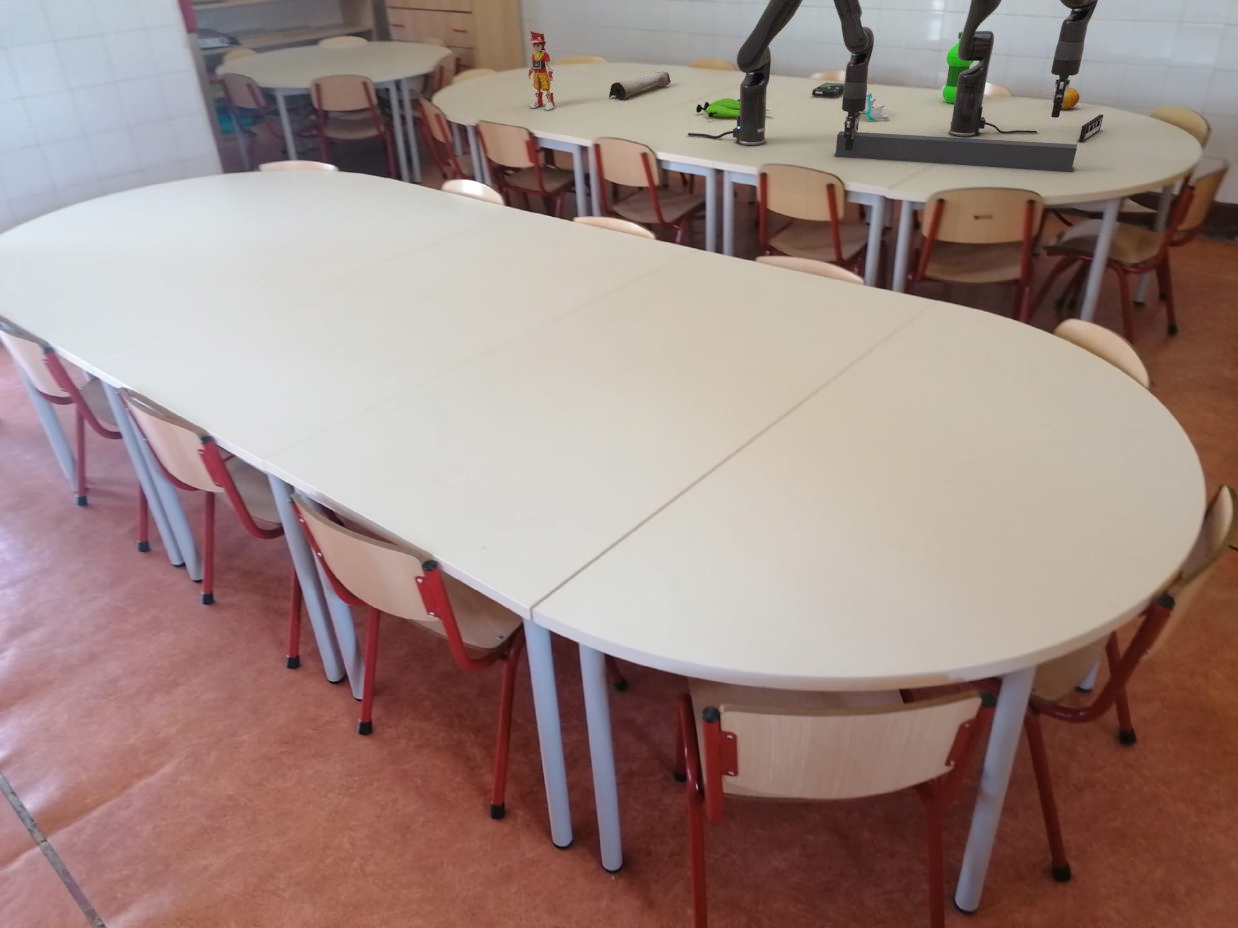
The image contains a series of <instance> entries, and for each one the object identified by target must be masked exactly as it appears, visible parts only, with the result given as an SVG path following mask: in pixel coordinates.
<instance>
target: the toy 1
mask: <svg viewBox="0 0 1238 928" xmlns="http://www.w3.org/2000/svg"><path fill="white" fill-rule="evenodd" d="M529 33H530V35H531V36H528V37H527V38H528V39H529V40H528V41H527V43H529V44H530V43H531V44H532V48H533V50H534V51H533V52H532V55H531V58H530V59H531V63H530V66H528V74H527V75H528V76H527V77H528V79H529V80H531V75H532V74H533V84H532V85H533V86H532V87H533V88H534V89H535V90H536V92H534V95H535V97H536V100H535V101H533V102H531V105H530V108H531V109H535V108H538V107H542V106H544V101H543V100H544V99H543V95H544V92H546V94H545V97H546V99H547V103H546V104H545V106H544V110H546V111H549V110H553V109H554V107H555V106H556V105H555V99H554V92H551V91H550V90H551V86H552V84H551V82H552V81H553V80H554V77H553V73H554V71H555V70H554V69H552V68H551V63H550V61H551V59H550V58H551V57H550V54H549V53H548V52H547V50H546V48H545V46H546V44H547V41H545V35H544V33H543V32H542V33H539V32H535V31H529Z"/></svg>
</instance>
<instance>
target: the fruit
mask: <svg viewBox="0 0 1238 928" xmlns="http://www.w3.org/2000/svg"><path fill="white" fill-rule="evenodd" d="M1054 98H1055V97H1054V96H1053V99H1054ZM1079 101H1080V93H1079V91H1078V90H1077V89H1076V88H1073V87H1069V88H1068V89H1067V93H1066V97H1064V98H1063V103H1062V107H1061V110H1069V109H1072V108H1074V107H1075V106H1077V105H1078V103H1079Z"/></svg>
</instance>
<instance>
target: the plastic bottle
mask: <svg viewBox="0 0 1238 928" xmlns="http://www.w3.org/2000/svg"><path fill="white" fill-rule="evenodd" d="M962 32H963V31H959V32H958V36H957V39H958V42H957V43H956V44H954V45H953V46H952V47H951V48H950V49H949V50H948V52H947V54H946V63H947V64H948V69H947V70H948V71H947V76H946V77H947V78H946V84H945V85H944V87H943V90H942V97H943V99H944V100H945V101H946V102H947V103H948V104H954V103H955V96H956V90H957V83H958V77H959V74H960V73H961V72H963V71H965V70H968V69H970V68H971V65H972V64H973V63H974V61H962V60H960V59H959V58H958V46H959V42H960V38H961V35H962Z"/></svg>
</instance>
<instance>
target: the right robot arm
mask: <svg viewBox="0 0 1238 928" xmlns="http://www.w3.org/2000/svg"><path fill="white" fill-rule="evenodd" d="M1002 1H1003V0H970V3H969V9H968V13H967V16H966V20H965V24H964V26H963V30H962V31H961V32H962V35H961V38H960V42H959V41H958V43H959V46H958V58H959V59H960V60H962V61H973V62H977V63H976V64H975V65H974V66H972V67H970V68H969V69H968V70H965V71H963V72H961V73H960V74H959V77H958V83H957V90H956V96H955V103H953V110H952V115H951V121H950V129H949V134H950V135H952V136H954V137H955V136H956V137H973V136H979V131H980V130H981V129H982V130H983V129H985V126H988V127H992V128H994V129H995V130H996V131H997V132H998V133H1000V134H1015V133H1022V134H1023V133H1025V134H1028V133H1029V134H1032V133H1033V134H1037V133H1038V130H1009V131H1007V130H1005V131H1004V130H1001V129H1000V128H999V127H998V126H997V125H995V124H993V123H989V122H986V118H985V116H982V115H983V109H984V107H983V102H984V96H985V90H986V83H987V79H988V73H989V67H990V63H991V58H992V54H993V49H994V44H995V35H994V32H993V31H992V30H977V29H978V28H979V27H980V25H981V24H982V23H983V22H984V21H985V20H987V19H988V18H989V17H990V16H991V15H992V14H993V13H994V12H995V11H996V10H997V9H998V7H999V6H1000V4H1001V3H1002ZM1059 1H1060V3H1061V4H1062V5H1063V6H1065V7H1066V8H1067V9H1070V13H1069V15H1068V16H1067V17H1066V18H1065V19H1063V21H1062V23H1061V26H1060V32H1059V36H1058V40H1057V44H1056V46H1055V50H1054V57H1053V61H1052V65H1051V70H1050V73H1051V74H1052V75H1054V76H1059V77H1058V79H1055V82H1054V90H1053V100H1052V103H1053V106H1052V110H1051V116H1050V117H1051V118H1055V119H1056V118H1057V119H1058V118H1059V117H1060V114H1061V110H1062V109H1061V107H1062V103H1063V98H1064V97H1066V93H1067V89H1068V88H1070V84H1071V79H1069V77H1070V76H1071V77H1072V76H1076V75H1078V74H1079V73H1080V68H1081V64H1082V60H1083V59H1082V58H1083V54H1084V49H1085V40H1086V37H1087V31H1088V26H1089V23H1090V21H1091V18H1092V17H1093V14H1094V11H1095V9H1096V7H1097V5H1098V2H1099V0H1059ZM1054 97H1055V98H1054Z"/></svg>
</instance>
